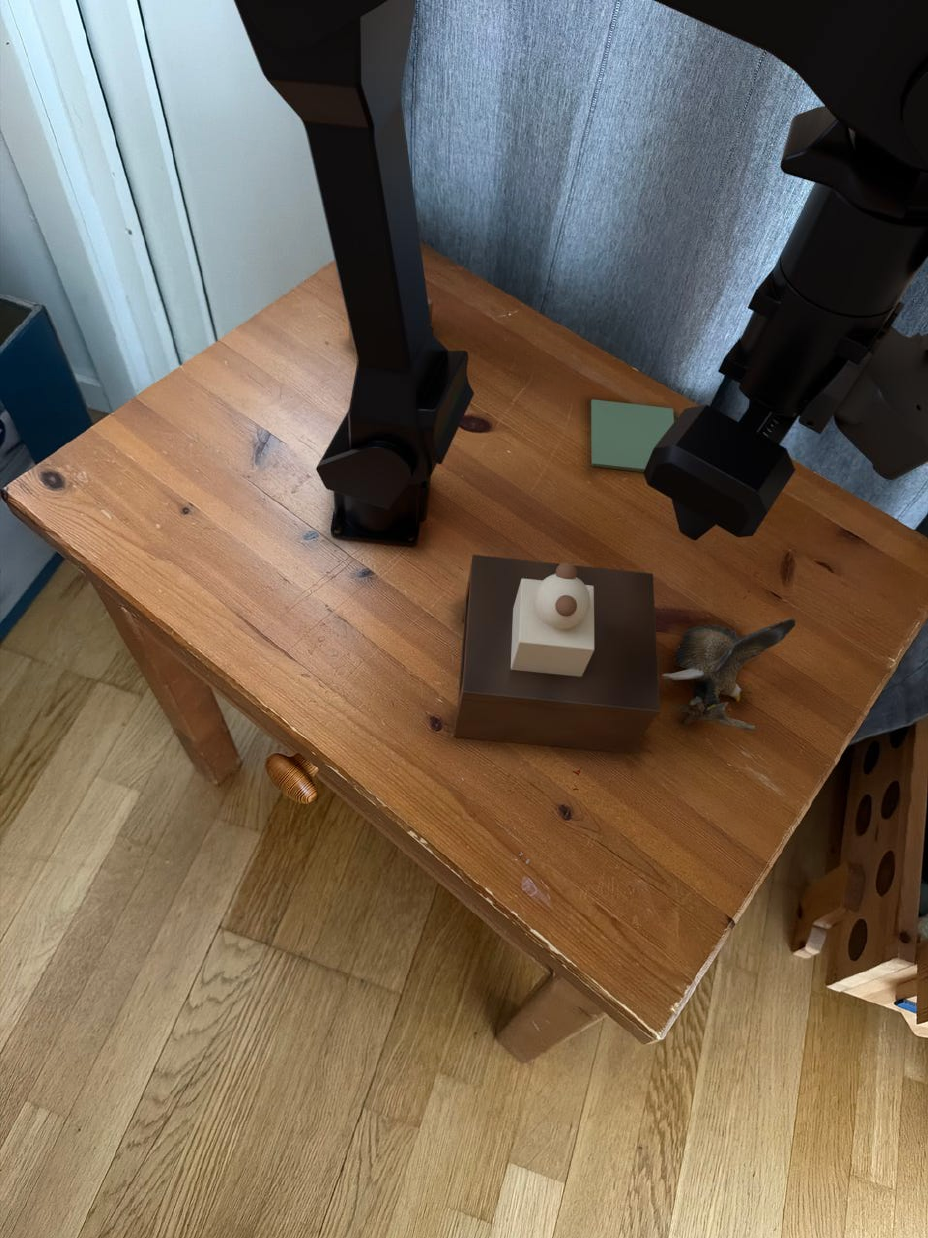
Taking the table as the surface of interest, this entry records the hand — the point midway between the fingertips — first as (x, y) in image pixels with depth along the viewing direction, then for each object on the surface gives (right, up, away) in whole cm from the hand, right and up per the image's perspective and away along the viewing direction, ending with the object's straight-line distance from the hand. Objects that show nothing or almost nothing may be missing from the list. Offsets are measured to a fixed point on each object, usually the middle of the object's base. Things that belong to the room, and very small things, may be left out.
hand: (722, 486), depth 54 cm
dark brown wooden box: (-10, -12, +8) cm, 18 cm away
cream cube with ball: (-11, -10, +1) cm, 14 cm away
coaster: (-2, +7, +20) cm, 21 cm away
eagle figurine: (+2, -13, +9) cm, 16 cm away
